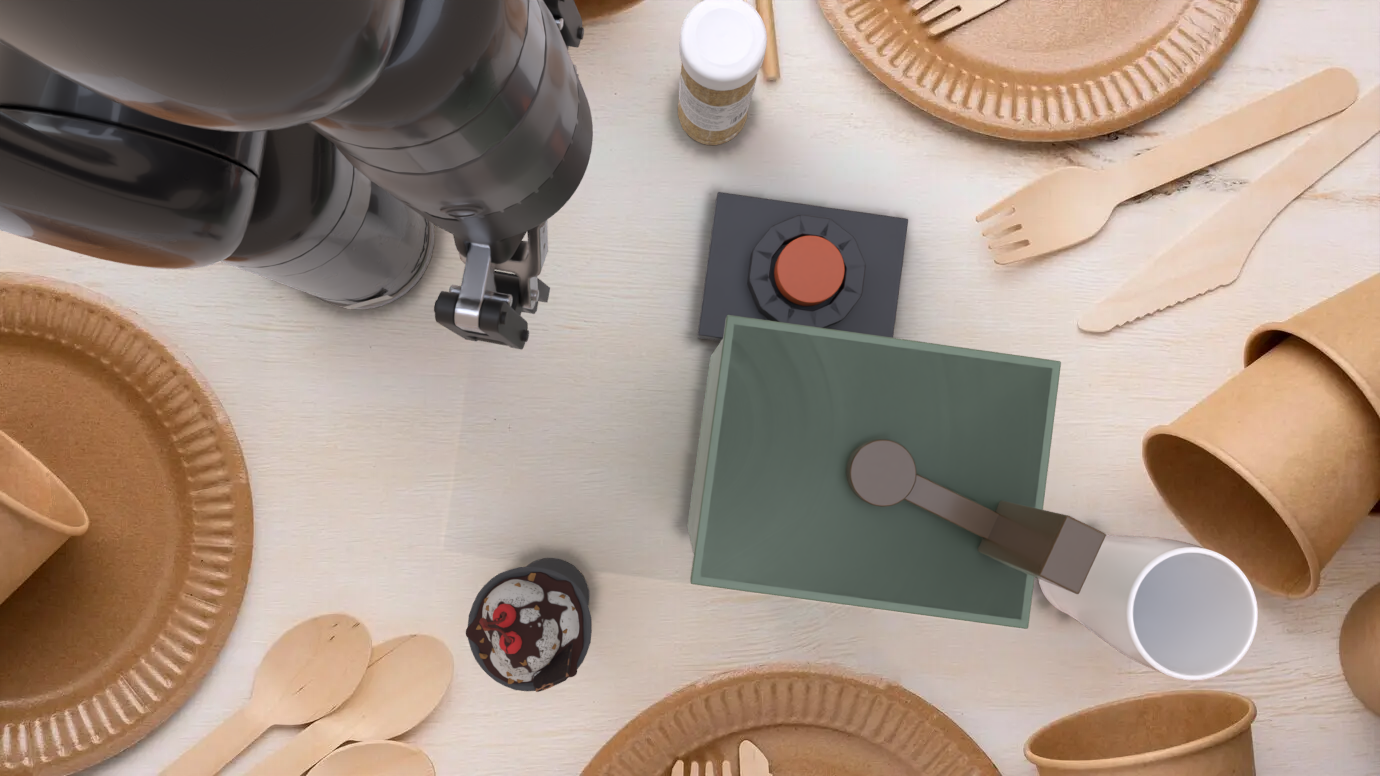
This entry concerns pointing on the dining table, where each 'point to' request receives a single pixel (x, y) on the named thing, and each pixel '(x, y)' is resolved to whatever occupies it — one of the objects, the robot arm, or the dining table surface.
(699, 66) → the sprinkles bottle
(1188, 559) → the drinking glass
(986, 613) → the block
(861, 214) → the control box
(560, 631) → the sundae
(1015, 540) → the lever
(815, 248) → the button
